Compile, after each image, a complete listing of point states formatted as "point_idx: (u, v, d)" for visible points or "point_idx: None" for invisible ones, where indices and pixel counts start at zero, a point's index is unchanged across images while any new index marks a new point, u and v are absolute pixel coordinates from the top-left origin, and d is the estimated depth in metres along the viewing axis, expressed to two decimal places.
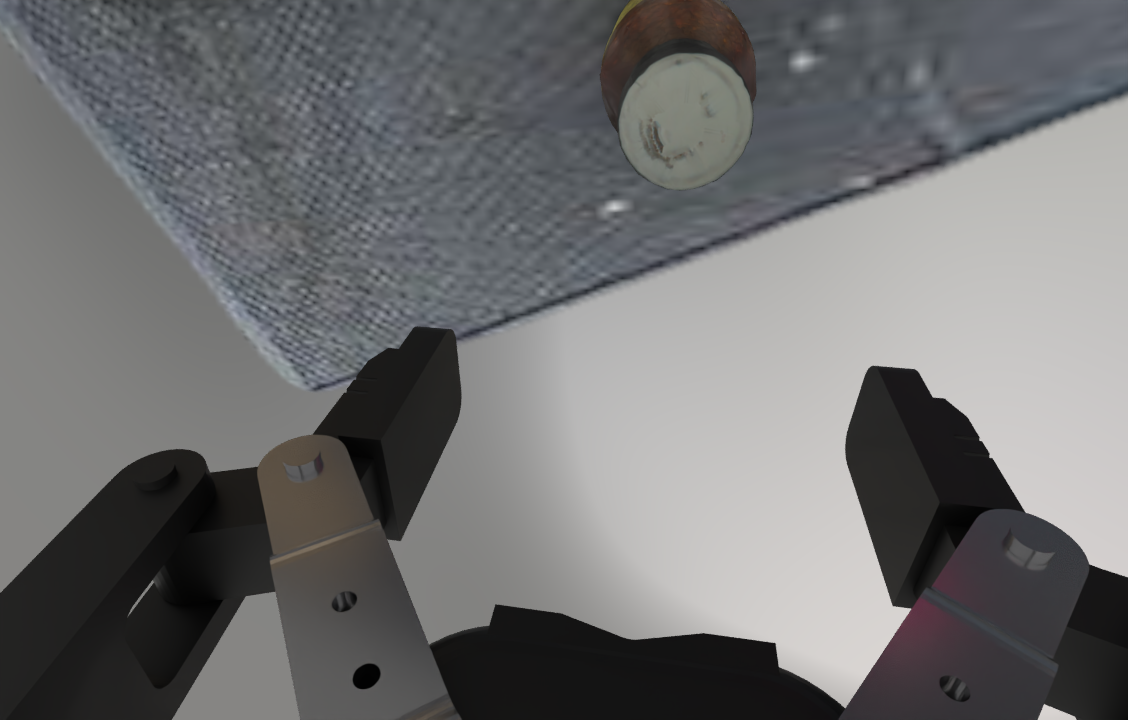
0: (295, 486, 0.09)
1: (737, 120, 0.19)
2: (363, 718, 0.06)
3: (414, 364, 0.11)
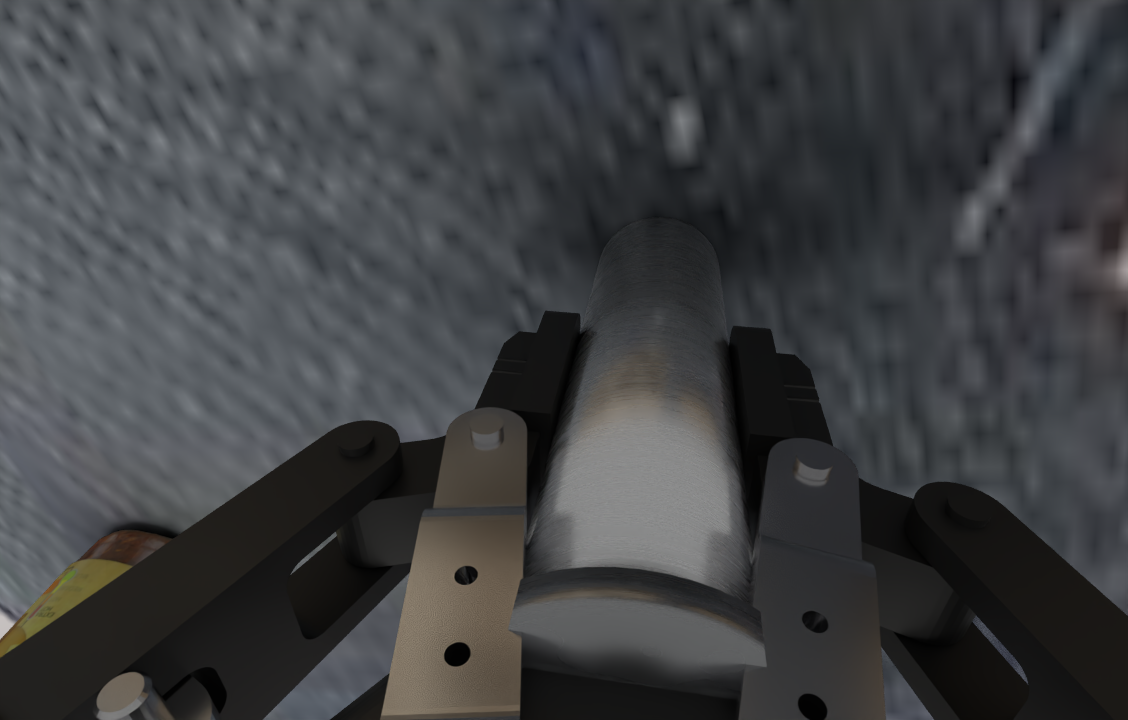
0: (488, 454, 0.09)
1: None
2: (440, 692, 0.06)
3: (557, 345, 0.12)
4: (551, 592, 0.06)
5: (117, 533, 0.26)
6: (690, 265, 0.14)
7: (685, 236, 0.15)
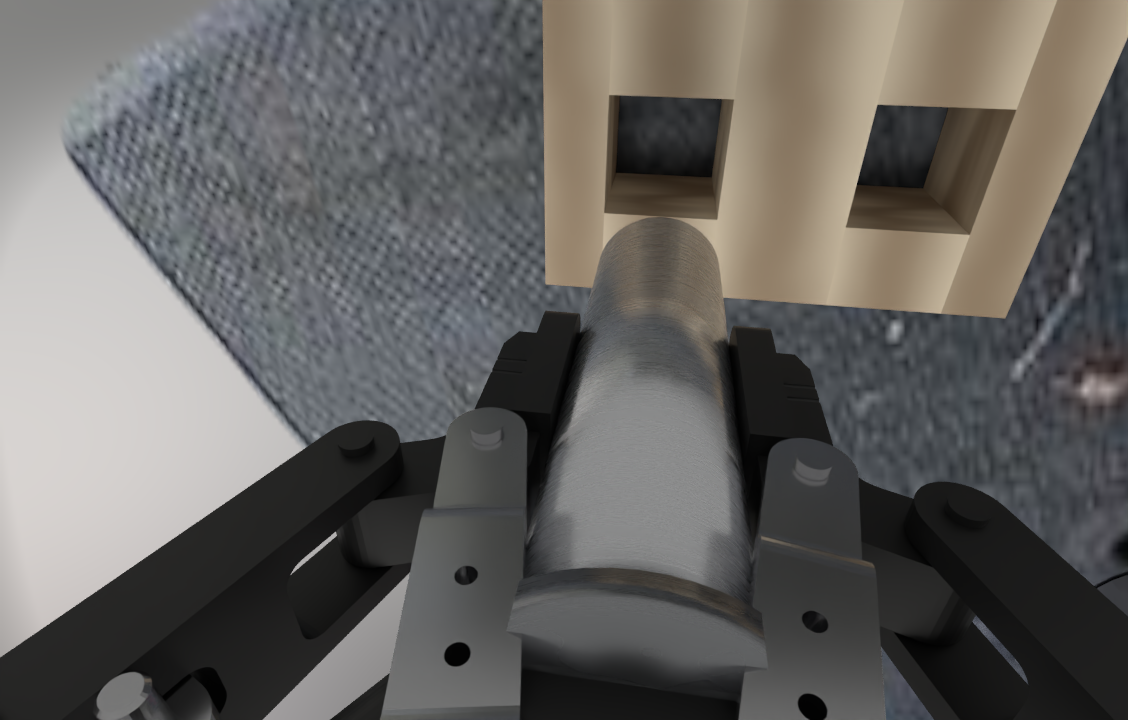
0: (488, 454, 0.09)
1: None
2: (440, 692, 0.06)
3: (557, 345, 0.12)
4: (551, 593, 0.06)
5: None
6: (690, 265, 0.14)
7: (685, 236, 0.15)
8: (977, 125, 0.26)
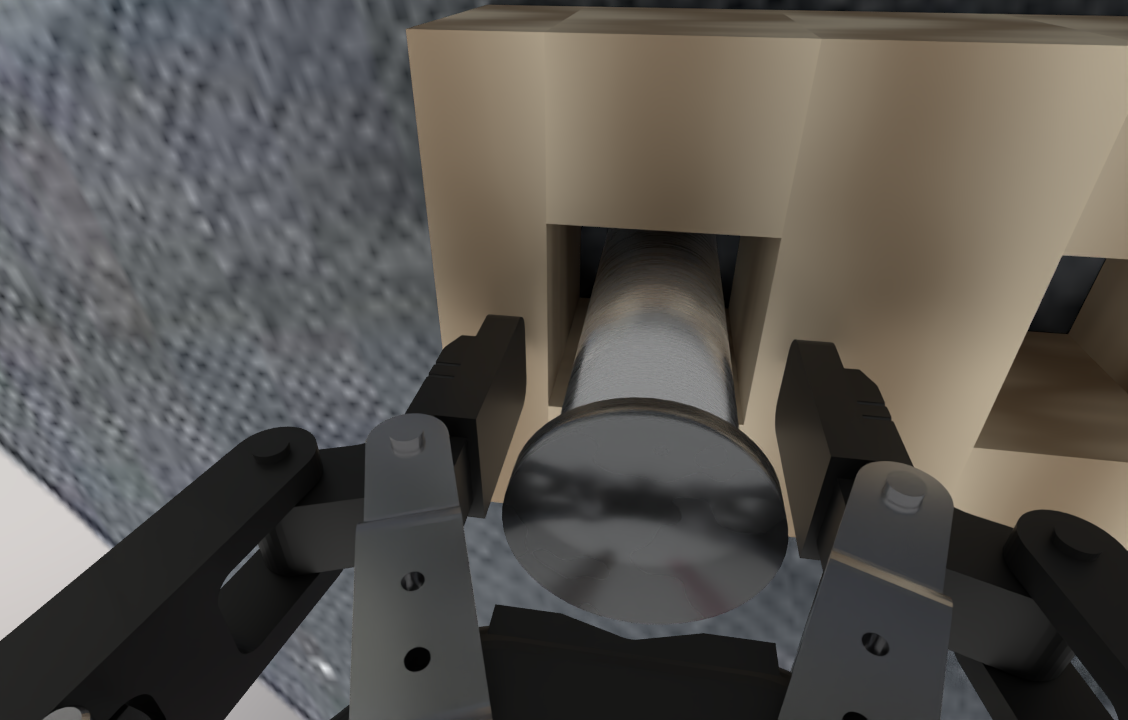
0: (405, 461, 0.09)
1: None
2: (406, 699, 0.06)
3: (494, 349, 0.12)
4: (589, 414, 0.09)
5: None
6: None
7: None
8: None
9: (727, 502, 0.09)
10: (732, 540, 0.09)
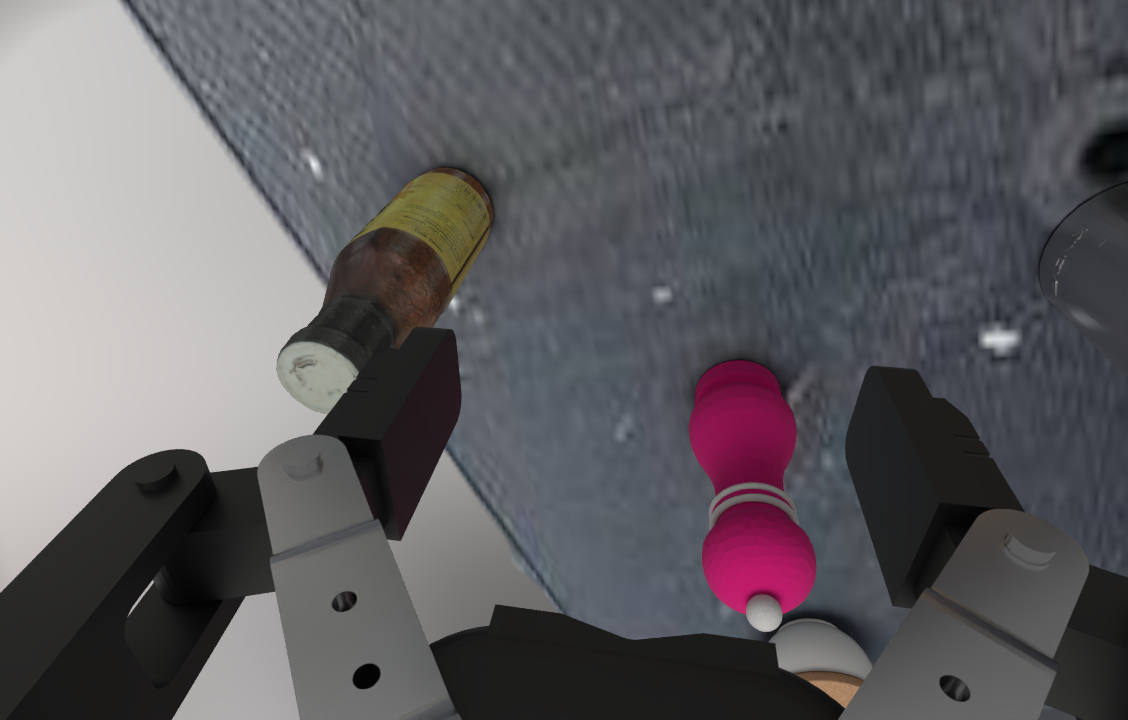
0: (295, 486, 0.09)
1: (330, 407, 0.28)
2: (363, 718, 0.06)
3: (414, 364, 0.11)
4: None
5: (433, 169, 0.42)
6: None
7: None
8: None
9: None
10: None
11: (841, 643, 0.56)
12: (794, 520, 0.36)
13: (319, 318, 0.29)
